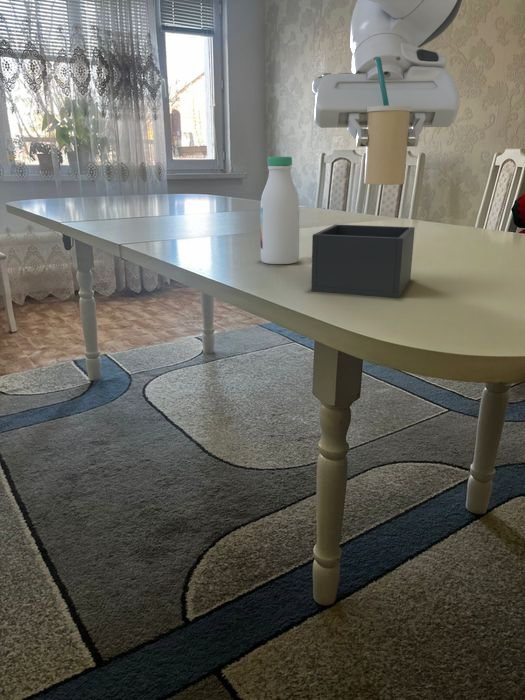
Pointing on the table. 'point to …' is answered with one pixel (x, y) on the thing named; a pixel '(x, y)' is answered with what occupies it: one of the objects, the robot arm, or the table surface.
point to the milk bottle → (279, 214)
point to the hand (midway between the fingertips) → (387, 143)
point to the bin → (362, 260)
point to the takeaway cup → (386, 140)
